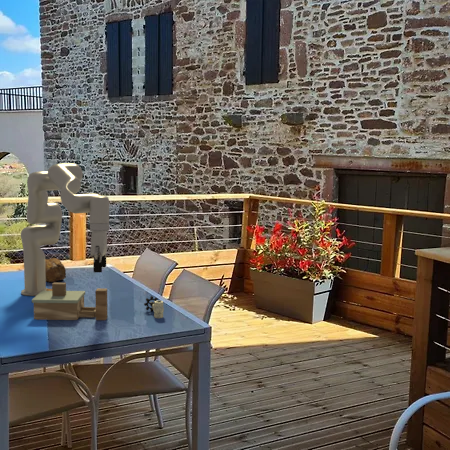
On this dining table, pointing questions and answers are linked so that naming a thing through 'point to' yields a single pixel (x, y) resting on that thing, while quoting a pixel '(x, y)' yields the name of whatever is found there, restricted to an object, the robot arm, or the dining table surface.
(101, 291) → the brown rectangular block
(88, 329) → the dining table surface
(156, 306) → the valve
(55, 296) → the lid
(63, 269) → the petrified wood
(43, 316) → the toolbox
